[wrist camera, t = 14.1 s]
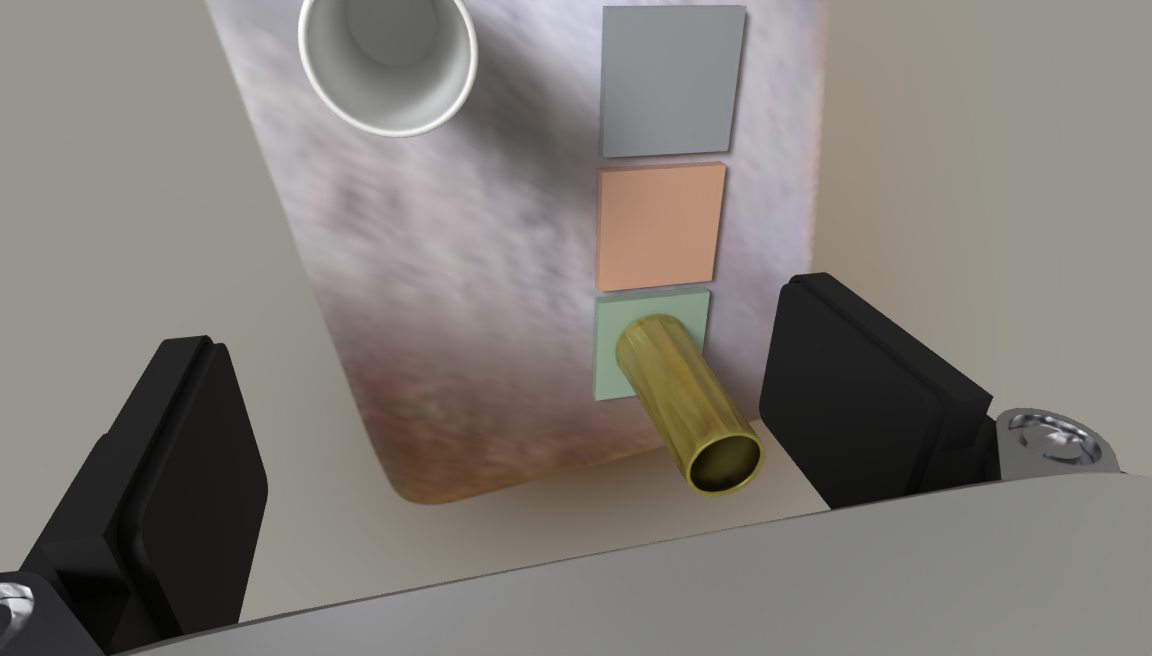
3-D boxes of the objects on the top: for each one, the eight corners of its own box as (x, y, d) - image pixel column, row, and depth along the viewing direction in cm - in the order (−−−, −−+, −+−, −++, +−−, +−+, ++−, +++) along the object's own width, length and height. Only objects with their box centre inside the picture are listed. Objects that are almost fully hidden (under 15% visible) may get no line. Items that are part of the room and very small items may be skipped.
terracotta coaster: (598, 168, 44) (602, 172, 44) (720, 161, 46) (726, 165, 46) (595, 286, 49) (598, 291, 48) (706, 275, 51) (711, 280, 50)
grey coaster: (603, 6, 39) (607, 7, 39) (739, 5, 41) (746, 6, 41) (599, 153, 44) (603, 157, 43) (721, 147, 46) (727, 150, 45)
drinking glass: (471, -12, 37) (509, 7, 25) (427, 99, 40) (442, 168, 27) (353, -77, 35) (328, -94, 22) (313, 46, 37) (271, 95, 24)
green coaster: (595, 297, 50) (598, 303, 49) (704, 286, 51) (709, 292, 51) (592, 393, 54) (595, 400, 53) (693, 380, 56) (697, 386, 55)
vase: (600, 339, 50) (663, 462, 38) (669, 298, 50) (754, 409, 38) (634, 390, 54) (701, 518, 42) (698, 352, 53) (785, 470, 41)
